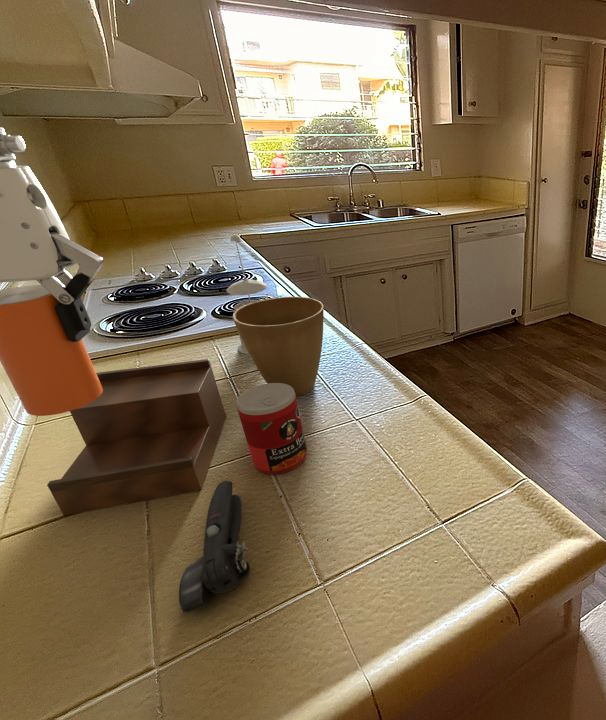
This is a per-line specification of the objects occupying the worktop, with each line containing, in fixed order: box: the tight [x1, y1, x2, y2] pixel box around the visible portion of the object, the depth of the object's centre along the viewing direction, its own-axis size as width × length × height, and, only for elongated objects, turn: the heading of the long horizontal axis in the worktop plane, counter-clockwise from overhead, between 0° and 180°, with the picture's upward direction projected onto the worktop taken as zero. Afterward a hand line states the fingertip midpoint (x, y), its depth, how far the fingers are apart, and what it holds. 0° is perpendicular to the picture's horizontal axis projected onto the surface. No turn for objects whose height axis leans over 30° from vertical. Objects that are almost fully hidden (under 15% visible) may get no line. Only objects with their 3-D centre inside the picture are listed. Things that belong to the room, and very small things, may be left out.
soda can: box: [0, 284, 103, 417], centre depth 48 cm, size 7×7×12 cm
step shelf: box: [46, 358, 227, 516], centre depth 67 cm, size 16×19×11 cm
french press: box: [225, 234, 276, 355], centre depth 101 cm, size 10×12×25 cm
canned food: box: [235, 383, 308, 475], centre depth 67 cm, size 8×8×11 cm
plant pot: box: [232, 296, 324, 397], centre depth 85 cm, size 15×15×16 cm
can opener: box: [178, 480, 251, 613], centre depth 53 cm, size 18×7×6 cm, turn 20°
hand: (38, 339), depth 47 cm, fingers closed on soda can, 6 cm apart
